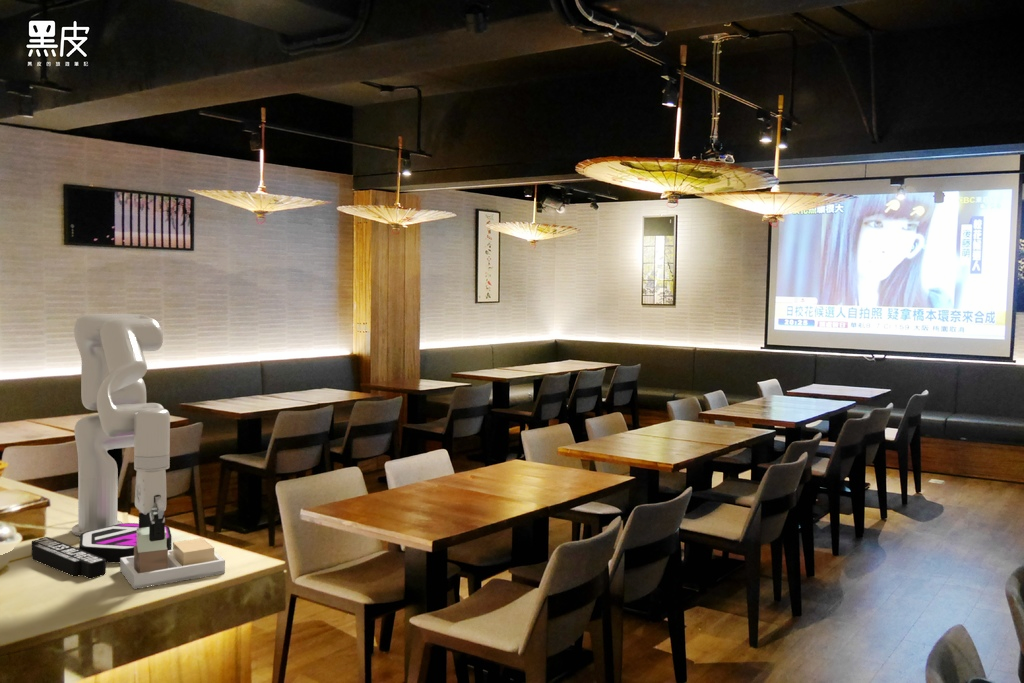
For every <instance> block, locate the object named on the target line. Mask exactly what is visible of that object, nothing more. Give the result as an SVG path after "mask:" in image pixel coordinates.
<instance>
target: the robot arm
mask: <svg viewBox="0 0 1024 683" xmlns="http://www.w3.org/2000/svg"><path fill="white" fill-rule="evenodd" d="M73 326H74V327H73V335H74V340H75V343H76V346H77V348H78V352H79V355H80V358H81V375H80V376H81V380H80V382H81V384H80V385H81V386H80V387H81V389H80V390H81V392H80V394H81V404H82V405H83V407H84V408H85V409H87V410H90V411H97V414H92V415H87V416H84V417H81V418H80V419H78V420H77V421H76V423H75V425H74V438H75V445H76V451H77V458H78V459H77V465H78V466H77V468H78V472H77V473H78V474H77V475H78V477H77V478H78V487H77V488H78V490H77V492H78V494H77V496H78V499H77V500H78V501H77V502H78V505H77V506H78V507H77V508H78V515H77V516H78V518H77V519H78V520H77V521H78V522H77V524H75V525H73V526H72V528H71V533H72V534H73V535H75V536H78V535H79V536H78V537H80V535H81V534H82V533H84V532H87V531H91V530H96V529H100V528H104V527H109V526H113V525H117V524H123V523H124V522H123V521H120V520H118V491H119V489H118V486H119V485H118V481H119V480H118V478H119V477H118V473H119V472H118V464H117V461H116V460H115V458H113V457H112V456H111V455H110V454H109V453H108V451H109V450H114V449H115V450H116V449H124V448H133V460H134V461H133V469H134V470H135V471H136V474H135V487H134V489H135V490H134V506H135V508H136V509H137V510H138V524H139V528H144V527H149V540H150V541H158V540H164V539H165V525H166V519H165V518H166V517H165V511H166V510H167V473H166V470H168V469H170V465H171V464H170V462H171V461H170V460H171V459H170V457H171V456H170V455H171V454H170V453H171V452H170V449H171V448H170V447H171V446H170V445H171V439H170V438H171V436H170V434H171V430H170V429H171V415H170V412H169V410H168V409H166V408H164V406H163V405H162V404H161V403H156V402H147V386H146V384H145V380H144V379H143V377H145V375H146V373H147V371H148V366H147V362H146V359H145V355H144V353H143V352H154V351H155V352H156V351H158V350H160V348H161V347H162V346H163V342H164V332H163V329H162V327H161V325H160V324H159V322H158V321H157V320H156V319H154V318H152V317H150V316H148V315H145V314H139V313H91V314H90V313H87V314H84V315H81V316H79V317H78V318H76V320H75V323H74V325H73Z"/></svg>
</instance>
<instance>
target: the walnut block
mask: <svg viewBox="0 0 1024 683" xmlns="http://www.w3.org/2000/svg"><path fill="white" fill-rule="evenodd" d="M134 569H135V570H136V572H137V573H144V572H150V571H156V570H162V569H168V548H167V550H159V551H149V552H140V553H138V550H137V545H134Z"/></svg>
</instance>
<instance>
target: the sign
mask: <svg viewBox="0 0 1024 683" xmlns="http://www.w3.org/2000/svg"><path fill="white" fill-rule="evenodd" d="M122 523H123V524H117V525H113V526H109V527H104V528H100V529H96V530H91V531H87V532H84V533H82V534H81V535H80V536H79V547H76V546H72V545H69V544H67V543H64V542H63V541H59V540H57V539H54V538H52V537H48V536H45V537H40V538H38V539H35V540H31V558H32V559H33V561H35V562H37V561H38V562H37V563H39V562H41V563H40V564H42V563H43V565H44V564H46V565H45V566H47V565H48V567H49V566H50V568H52V567H53V568H52V569H54V568H55V569H54V570H57V569H58V570H57V571H59V570H60V572H61V571H63V572H62V573H64V572H65V573H64V574H66V573H68V574H67V575H69V574H70V576H71V575H73V576H72V577H74V576H76V577H79V576H78V575H80V576H81V575H83V576H82V577H84V576H86V577H88V578H87V579H89V578H91V579H94V578H93V577H95V578H98V577H97V576H99V577H101V576H100V575H102V576H104V574H105V573H106V574H107V570H106V569H107V566H106V565H107V562H120V558H123V557H129V556H134V545H137V528H139V522H138V523H135V522H134V523H133V522H122ZM165 529H166V532H167V548H168V550H172V533H171V529H170V527H169V526H168V525H166V524H165ZM106 574H105V575H106ZM86 577H85V578H86Z"/></svg>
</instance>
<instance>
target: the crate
mask: <svg viewBox="0 0 1024 683" xmlns="http://www.w3.org/2000/svg"><path fill="white" fill-rule="evenodd" d="M119 566H120V567H119V571H121V572H122V573H121V572H120V573H121V574H122V576H123V575H124V576H125V577H126V578H125V577H124V578H125V579H127V580H128V581H129V582H128V581H127V580H126V581H127V582H128V583H129V585H130V584H131V585H132V586H131V585H130V586H131V587H132V589H133V588H134V589H136V590H138V589H137V588H141V589H143V588H142V587H147V586H151V585H152V587H154V586H153V585H158V586H160V585H159V584H164V585H166V584H165V583H169V584H172V583H171V582H175V583H177V582H176V581H180V582H183V581H182V580H186V581H190V580H189V579H191V580H196V579H195V578H197V579H200V577H203V578H206V577H205V576H208V577H212V575H214V576H217V575H216V574H219V575H223V574H222V573H225V574H226V559H224V558H223V557H222V556H220V554H219V553H217V552H216V551H215V547H214V546H213V545H212V544H210V543H209V542H208V541H207V540H206V539H205V538H203V537H201V538H191V539H188V540H187V539H186V540H180V541H173V542H172V549H171V550H168V569H162V570H156V571H150V572H144V573H137V572H136V570H135V569H134V556H129V557H123V558H120V563H119ZM147 588H148V587H147ZM134 589H133V590H134Z"/></svg>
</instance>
